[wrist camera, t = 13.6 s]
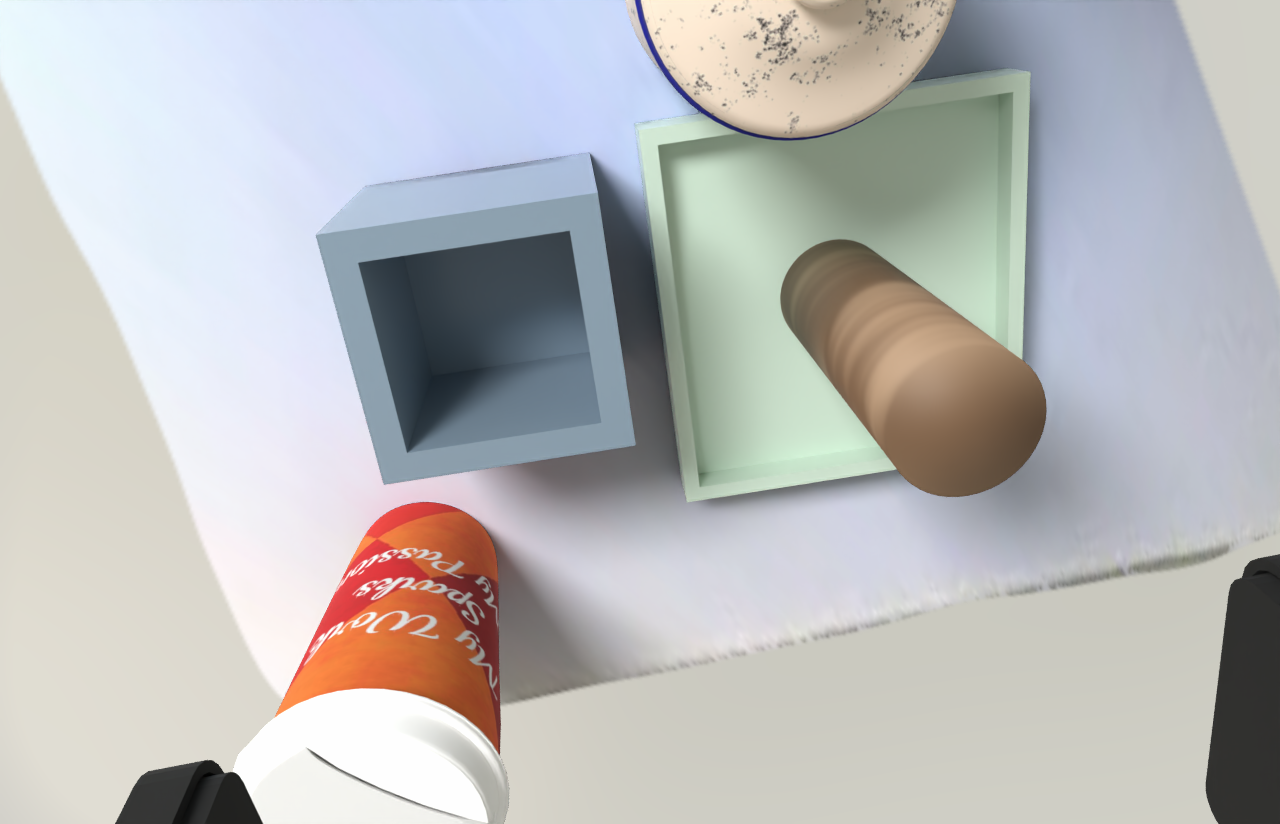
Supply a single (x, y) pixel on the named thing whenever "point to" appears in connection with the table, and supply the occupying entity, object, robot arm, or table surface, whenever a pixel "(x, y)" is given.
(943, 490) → the peg
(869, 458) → the tray
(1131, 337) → the table surface
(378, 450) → the deep square box
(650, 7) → the teacup with lid
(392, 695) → the coffee cup
